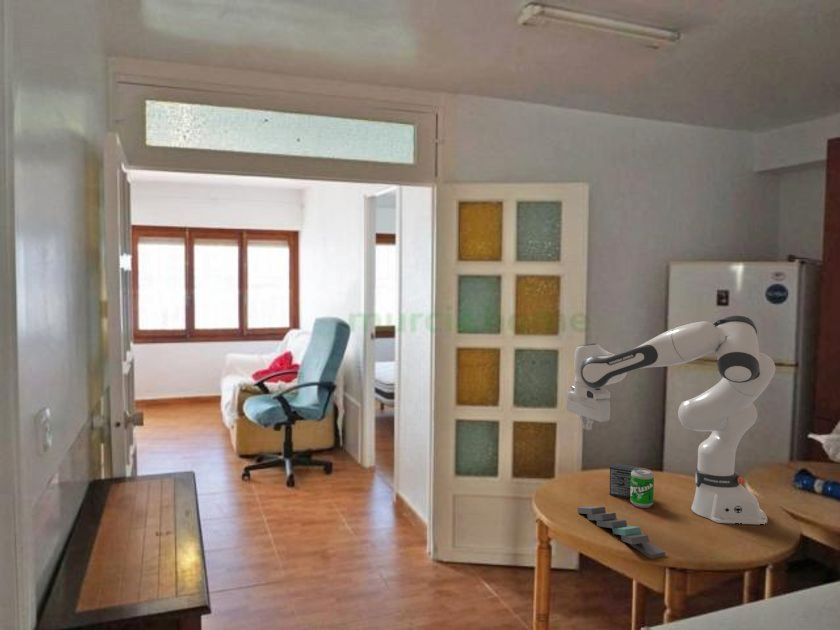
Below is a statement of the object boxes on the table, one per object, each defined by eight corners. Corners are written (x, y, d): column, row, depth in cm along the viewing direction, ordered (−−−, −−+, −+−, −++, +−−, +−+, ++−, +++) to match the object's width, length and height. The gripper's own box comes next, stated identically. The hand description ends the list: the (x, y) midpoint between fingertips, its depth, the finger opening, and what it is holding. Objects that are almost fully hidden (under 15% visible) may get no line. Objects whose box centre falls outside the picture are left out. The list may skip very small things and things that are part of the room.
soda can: (631, 499, 214) (632, 466, 213) (654, 502, 211) (654, 469, 210) (628, 506, 207) (629, 472, 207) (652, 510, 204) (652, 475, 203)
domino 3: (596, 520, 192) (611, 522, 184) (610, 518, 194) (626, 520, 185) (597, 526, 192) (612, 528, 183) (610, 524, 193) (627, 526, 185)
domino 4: (611, 527, 187) (624, 529, 178) (627, 525, 187) (640, 527, 179) (613, 533, 186) (625, 535, 177) (628, 531, 187) (641, 533, 178)
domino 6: (629, 541, 178) (650, 554, 170) (643, 538, 180) (665, 551, 171) (629, 547, 178) (650, 560, 170) (643, 544, 180) (665, 558, 172)
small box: (643, 495, 218) (643, 466, 218) (639, 500, 213) (639, 471, 212) (613, 489, 224) (614, 462, 223) (608, 495, 218) (609, 466, 218)
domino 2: (587, 514, 197) (601, 514, 189) (600, 512, 198) (615, 512, 190) (588, 519, 197) (602, 520, 188) (601, 518, 198) (616, 518, 190)
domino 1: (577, 507, 203) (591, 508, 194) (590, 506, 204) (604, 506, 196) (578, 513, 202) (592, 514, 194) (591, 511, 203) (605, 512, 195)
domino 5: (620, 534, 181) (630, 537, 173) (636, 532, 182) (647, 535, 173) (621, 541, 181) (632, 544, 172) (638, 538, 181) (649, 542, 172)
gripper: (562, 385, 217) (561, 423, 218) (598, 395, 198) (598, 436, 199) (576, 384, 219) (576, 421, 220) (613, 394, 200) (613, 434, 201)
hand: (587, 429), depth 209 cm, fingers closed
